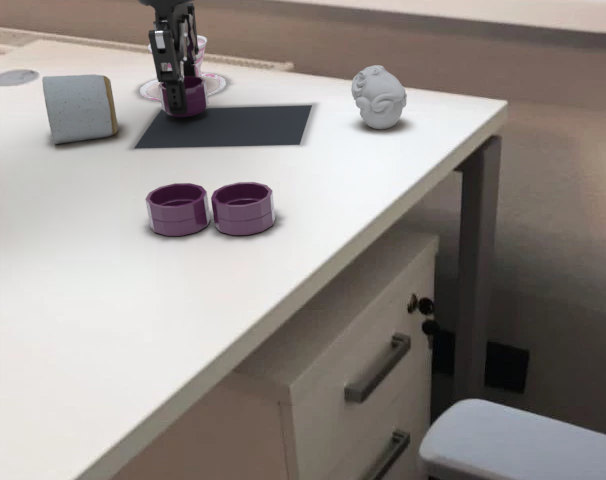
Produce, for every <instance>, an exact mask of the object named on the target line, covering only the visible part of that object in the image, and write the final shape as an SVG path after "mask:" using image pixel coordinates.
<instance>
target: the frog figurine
mask: <svg viewBox="0 0 606 480" xmlns="http://www.w3.org/2000/svg"><path fill="white" fill-rule="evenodd" d="M350 87H351V88H350V89H351V90H350V91H351V96H352V98H353V101H355V106H356V107H357V109H359V116H360V117H361V118H362V120H363V122H364V123H365V124H366V125H367V126H368V127H370V128H371V129H375V130H387V129H390V128H392V127H393V126H395V125H397V123H398V121H399V120H400V119H401V116H402V114H403V109H404V108H406V106H407V98H408V94H407V93H406V88H405V87H404V86H403V85H402V83H401V82H400V81H399V79H398V78H397V77H396V76H395V75H393V74H391V72H389V71H387V70H386V68H385V67H384V66H383V65H379V64H378V65H377V64H376V65H375V64H374V65H371V66H366V67H364V69H363V70H360V71H359V72H357V74H356V75H355V76H354V77H353V78H352V81H351V86H350Z"/></svg>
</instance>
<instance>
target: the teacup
mask: <svg viewBox="0 0 606 480" xmlns="http://www.w3.org/2000/svg"><path fill="white" fill-rule="evenodd" d="M187 39H188V38H187ZM197 41H198V48H199V52H198V55H196V58H197V61H196V64H193V65H195V69H196V76H199V77H203V78H209V79H213V80H216V81H217V82H219V86H218V87H217V89H215V90H212V91H211V92H207V93H208V97H209V96H213V95H216V94H217V93H219V92H221V91H222V90H224V89H225V88H226V86H227V82H226V79H225V78H224V77H222V76H220V75H217V74H214V73H208V72H202V69H201V67H202V64H203V61H204V57H205V51H206V47H207V43H208V38H207V37H206V36H204V35H200V34H197ZM147 50H148V51H149V53H150V54H151V55H152V50H151V45H150V43H149V44H148V45H147ZM167 66H168V71H172V68H171V64H170V63H168V65H167ZM157 83H159V82H158V79H157V78H154V79H152V80H150V81H148V82H146V83H144V84H143V85H142V86H141V87H140V89H139V94H140V95H141V96H142V97H143V98H145V99H147V100H150V101H154V102H161V99H160V98H159V97H158V98H156V97H153V96H150V95H149V94H148V93H147V90H148V89H149V88H150V87H151V86H153V85H155V84H157Z"/></svg>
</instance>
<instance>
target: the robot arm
mask: <svg viewBox="0 0 606 480" xmlns="http://www.w3.org/2000/svg"><path fill="white" fill-rule="evenodd" d="M194 1H195V0H137V2H138V3H139V4H141V5H143V6H146V7H148V6H150V7H152V8H153V9H154V20H153V21H152V28H153V29H149V31H148V36H147V37H148V39H149V44H150V45H151V50H152V54H151V55H152V59H153V64H154V68H155V74H156V79H158V82H157V83H161V82H163V83H165V86H166V92H167V98H168V105H169V111H170V113H171V114H185V113H186V112H187V110H188V105H187V98H186V91H185V85H184V76H192V75H193V76H196V69H195V65H193V64H196V61H197V58H196V55H198V52H199V48H198V41H197V35H198V32H197V31H198V30H197V21H196V12H195V10H196V8H195V7H196V6H195V5H194V4H195V3H194ZM187 38H188V39H187ZM168 63H170V64H171V68H172V71H168V66H167V65H168Z"/></svg>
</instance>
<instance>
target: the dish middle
mask: <svg viewBox="0 0 606 480" xmlns="http://www.w3.org/2000/svg"><path fill="white" fill-rule="evenodd" d="M144 201H145V204H146V205H145V206H146V209H147V215H148V221H149V226H150V228H151V230H153V233H156V234H159V235H162V236H166V237H182V236H186V235H190V234H195V233H198V232H199V231H201V230H203V229H205V228H207V227H208V225H209V224H210V221H211V212H210V206H209V204H210V203H209V198H208V191H207V190H206V189H205V187H203V186H202V185H198V184H196V183H195V184H194V183H190V182H184V183H183V182H182V183H181V182H180V183H178V182H177V183H176V182H175V183H171V184H166V185H162V186H159V187H157V188H155V189H153V190H151V191H149V192H148V194H147V196H146V197H145V200H144Z"/></svg>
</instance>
